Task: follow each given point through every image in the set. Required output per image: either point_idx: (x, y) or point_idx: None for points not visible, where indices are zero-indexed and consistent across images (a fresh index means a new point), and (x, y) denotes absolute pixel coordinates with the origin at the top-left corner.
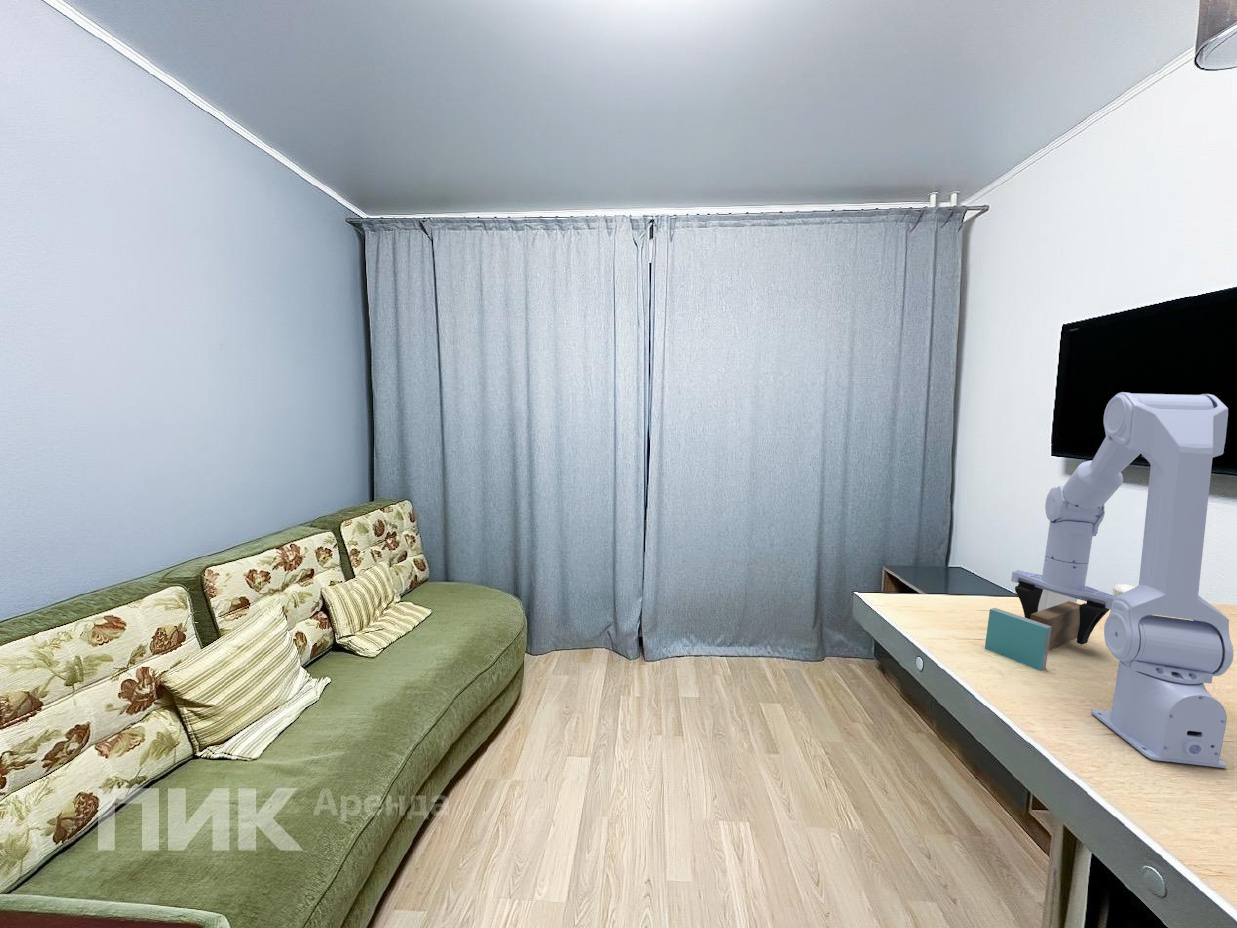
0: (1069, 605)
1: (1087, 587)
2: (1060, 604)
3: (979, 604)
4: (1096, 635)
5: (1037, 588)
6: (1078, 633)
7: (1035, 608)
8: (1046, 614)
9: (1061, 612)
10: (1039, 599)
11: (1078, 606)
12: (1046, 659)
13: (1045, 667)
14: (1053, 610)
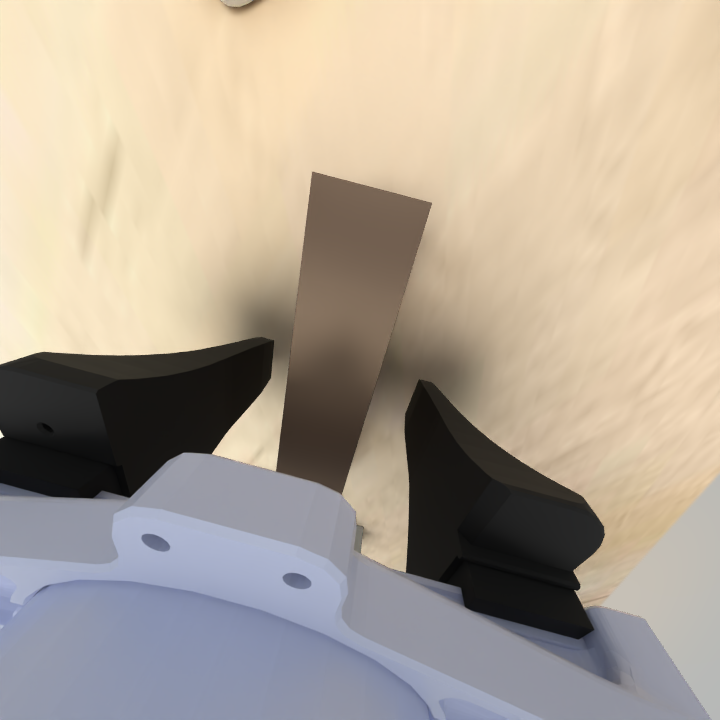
0: (339, 310)
1: (462, 679)
2: (297, 340)
3: (25, 143)
4: (474, 114)
5: (129, 477)
6: (408, 447)
7: (230, 381)
8: None
9: (334, 473)
10: (198, 377)
11: (388, 283)
12: (360, 550)
13: (362, 530)
14: (303, 469)
